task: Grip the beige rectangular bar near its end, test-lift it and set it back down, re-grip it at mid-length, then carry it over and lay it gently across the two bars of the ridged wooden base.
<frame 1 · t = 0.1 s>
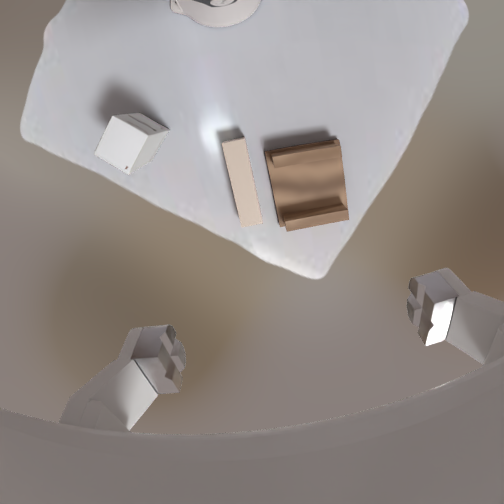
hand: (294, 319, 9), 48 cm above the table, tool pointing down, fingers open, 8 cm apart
supplement box: (146, 136, 51), on the table
ridged wooden base: (308, 182, 55), on the table
beige rectangular bar: (243, 179, 55), on the table
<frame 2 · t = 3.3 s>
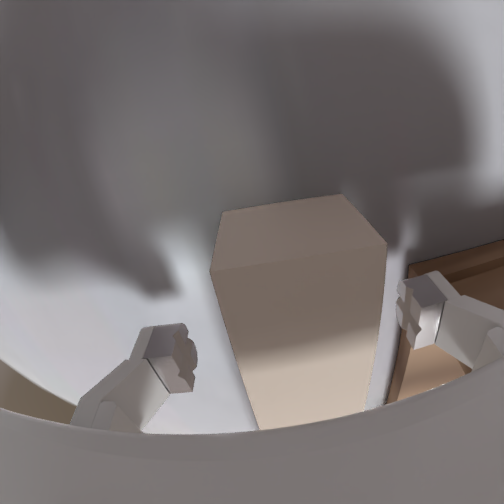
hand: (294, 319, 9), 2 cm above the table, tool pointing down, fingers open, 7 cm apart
ridged wooden base: (485, 341, 14), on the table
beige rectangular bar: (300, 360, 14), on the table
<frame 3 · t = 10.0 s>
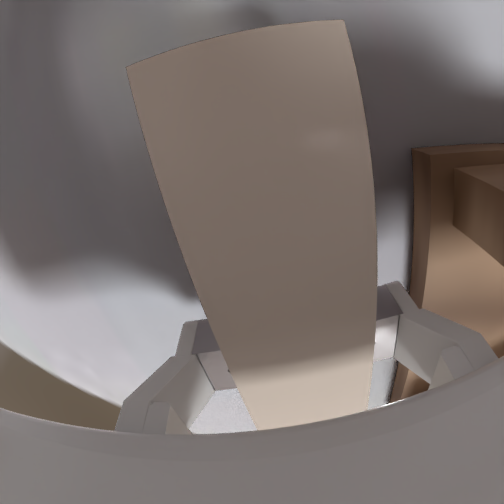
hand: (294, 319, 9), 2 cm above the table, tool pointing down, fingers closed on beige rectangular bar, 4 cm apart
beige rectangular bar: (289, 287, 11), on the table, touching gripper
when the fingers open (8 cm above the table, at t = 16.3 s): beige rectangular bar stays where it is, resting on ridged wooden base.
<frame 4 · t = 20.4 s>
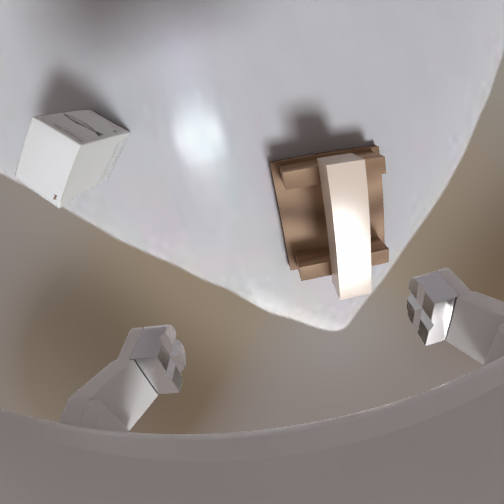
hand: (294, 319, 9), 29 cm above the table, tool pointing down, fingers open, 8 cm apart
supplement box: (99, 143, 34), on the table
ridged wooden base: (332, 207, 38), on the table
beige rectangular bar: (342, 222, 34), point 5 cm above the table, touching ridged wooden base
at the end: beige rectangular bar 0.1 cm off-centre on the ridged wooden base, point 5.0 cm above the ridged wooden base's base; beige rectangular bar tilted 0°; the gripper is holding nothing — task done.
